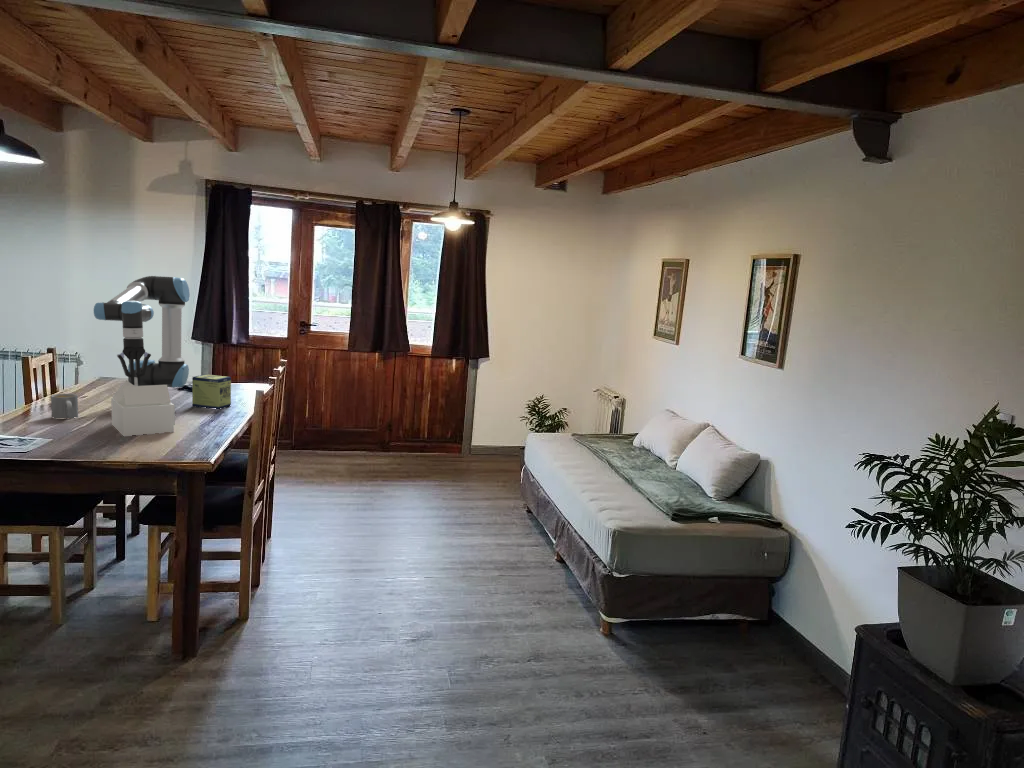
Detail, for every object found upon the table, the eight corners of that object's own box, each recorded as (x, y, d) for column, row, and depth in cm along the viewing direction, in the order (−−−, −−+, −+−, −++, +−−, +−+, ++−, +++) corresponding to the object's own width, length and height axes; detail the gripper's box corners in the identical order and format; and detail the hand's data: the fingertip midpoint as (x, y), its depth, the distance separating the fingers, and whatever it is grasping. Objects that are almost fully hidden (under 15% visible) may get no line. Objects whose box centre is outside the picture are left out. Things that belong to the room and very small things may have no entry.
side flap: (111, 396, 294) (126, 380, 296) (112, 397, 294) (127, 381, 297) (118, 402, 284) (133, 385, 287) (119, 402, 284) (134, 385, 287)
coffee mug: (51, 415, 308) (50, 394, 307) (77, 414, 314) (76, 393, 313) (52, 421, 298) (51, 399, 296) (79, 420, 303) (78, 398, 302)
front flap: (125, 405, 280) (122, 387, 283) (170, 402, 291) (166, 385, 294) (125, 405, 279) (122, 386, 283) (170, 402, 290) (166, 384, 294)
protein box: (219, 409, 343) (219, 379, 341) (191, 406, 346) (191, 376, 344) (231, 406, 354) (231, 376, 351) (204, 403, 357) (204, 374, 354)
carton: (111, 424, 299) (111, 398, 297) (161, 421, 312) (160, 395, 310) (123, 436, 281) (122, 407, 279) (175, 432, 294) (175, 404, 292)
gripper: (118, 339, 283) (121, 395, 287) (151, 338, 291) (154, 392, 295) (114, 337, 288) (117, 392, 292) (147, 336, 297) (149, 389, 301)
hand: (135, 392), depth 294 cm, fingers closed
